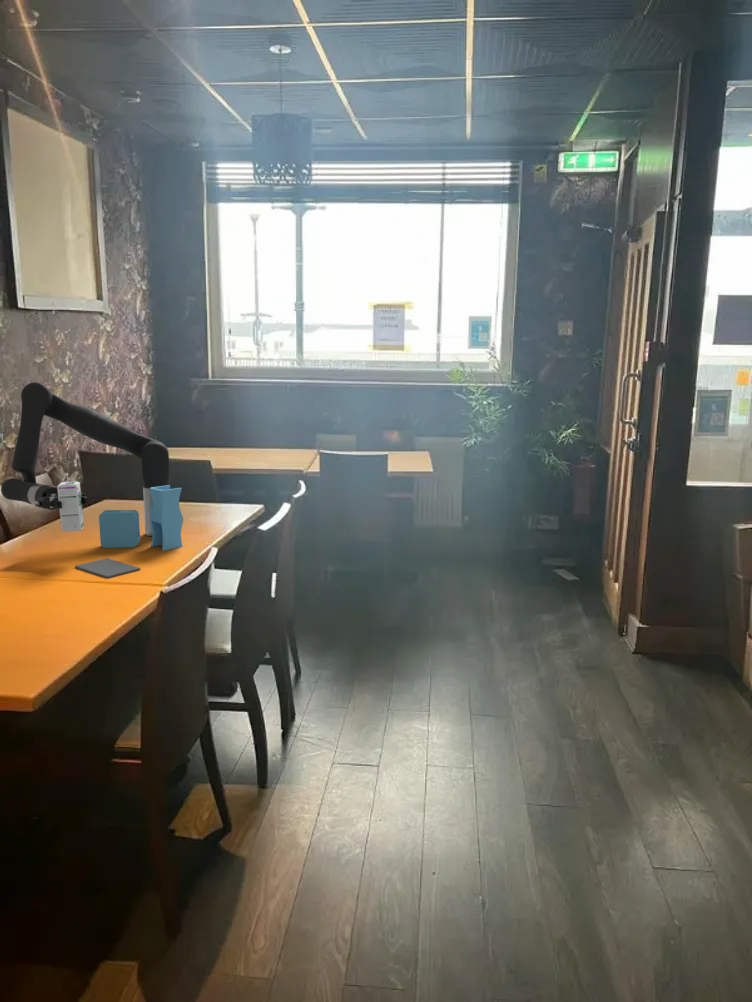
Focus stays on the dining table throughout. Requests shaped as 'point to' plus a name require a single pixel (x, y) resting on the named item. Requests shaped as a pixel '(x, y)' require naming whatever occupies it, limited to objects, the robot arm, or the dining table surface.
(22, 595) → the dining table surface
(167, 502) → the blue wavy stand
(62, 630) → the dining table surface
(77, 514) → the syrup box
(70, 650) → the dining table surface
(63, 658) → the dining table surface
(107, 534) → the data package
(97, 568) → the mat
